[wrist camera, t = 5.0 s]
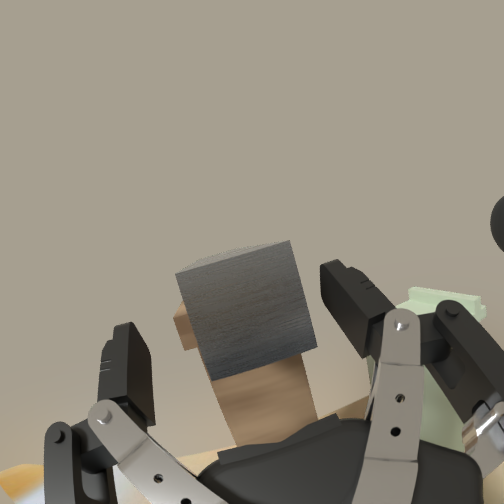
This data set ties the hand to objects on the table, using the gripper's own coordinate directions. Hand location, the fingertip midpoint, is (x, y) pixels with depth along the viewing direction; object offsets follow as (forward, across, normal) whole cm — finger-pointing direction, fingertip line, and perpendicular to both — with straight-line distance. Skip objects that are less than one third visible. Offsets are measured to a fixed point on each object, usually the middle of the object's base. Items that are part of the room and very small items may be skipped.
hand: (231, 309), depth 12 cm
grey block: (+7, 0, -6) cm, 9 cm away
